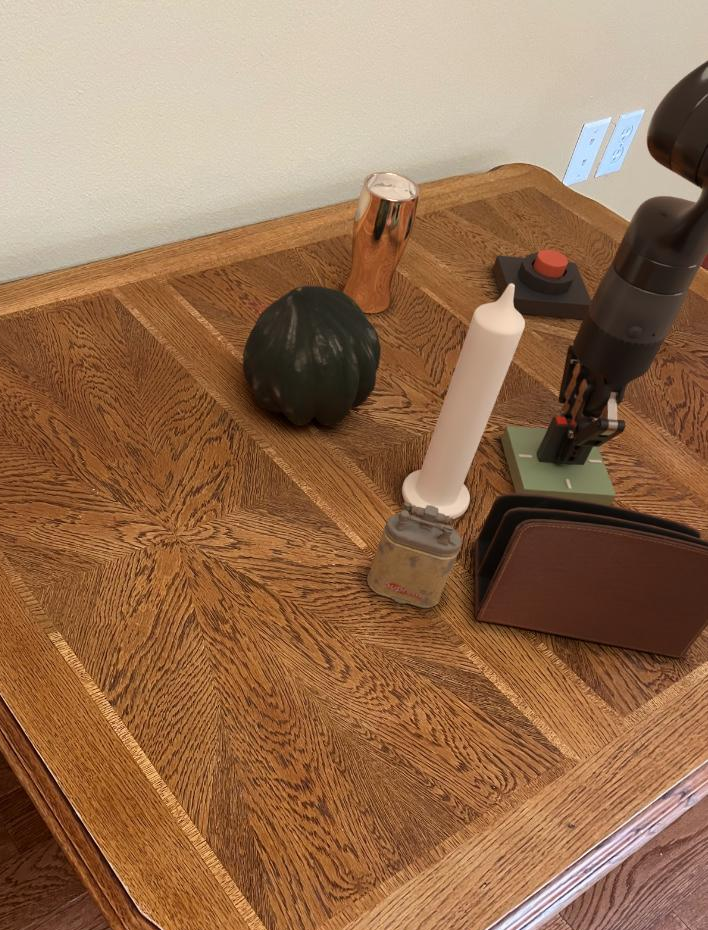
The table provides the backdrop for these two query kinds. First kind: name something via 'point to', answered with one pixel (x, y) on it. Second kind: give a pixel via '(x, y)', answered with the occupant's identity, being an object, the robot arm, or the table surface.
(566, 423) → the dial
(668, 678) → the table surface
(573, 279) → the button housing
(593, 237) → the table surface
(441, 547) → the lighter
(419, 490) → the candle
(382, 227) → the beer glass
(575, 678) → the table surface
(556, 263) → the red button
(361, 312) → the squash
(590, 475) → the dial panel
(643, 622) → the letter holder
